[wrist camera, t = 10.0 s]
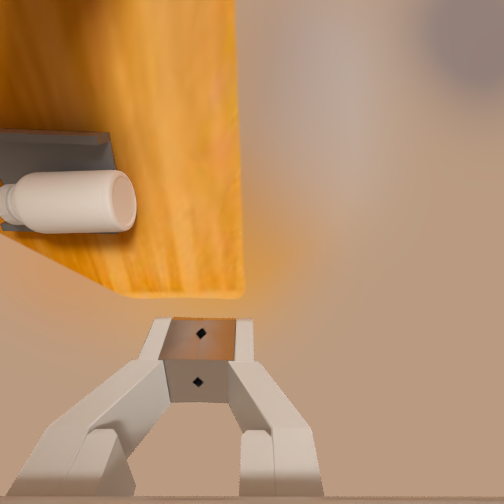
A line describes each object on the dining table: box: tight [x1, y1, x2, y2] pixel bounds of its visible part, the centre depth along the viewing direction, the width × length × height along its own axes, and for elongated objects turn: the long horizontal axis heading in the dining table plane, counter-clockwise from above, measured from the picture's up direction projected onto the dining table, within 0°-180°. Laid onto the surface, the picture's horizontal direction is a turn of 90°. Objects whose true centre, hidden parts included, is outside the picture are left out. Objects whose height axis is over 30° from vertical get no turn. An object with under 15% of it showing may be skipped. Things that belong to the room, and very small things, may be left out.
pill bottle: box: [0, 170, 137, 234], centre depth 36 cm, size 8×8×15 cm
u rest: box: [0, 128, 119, 234], centre depth 38 cm, size 13×16×4 cm
